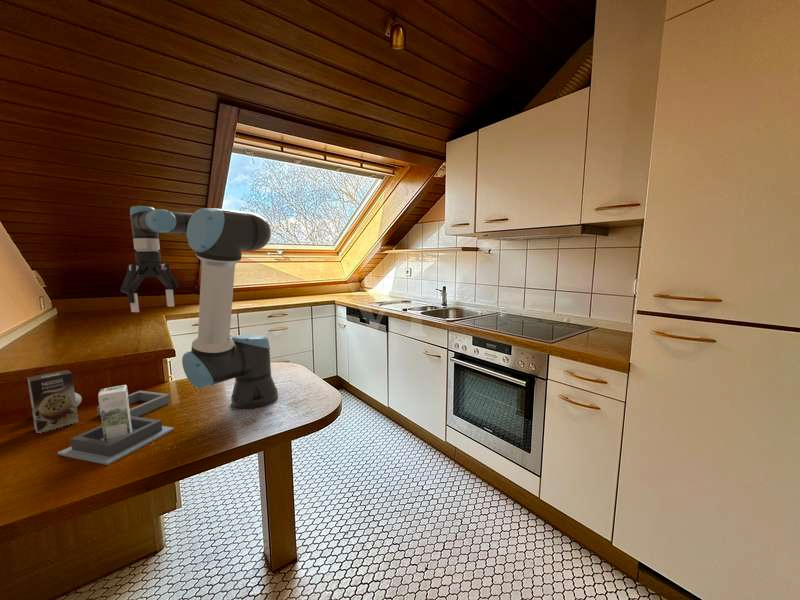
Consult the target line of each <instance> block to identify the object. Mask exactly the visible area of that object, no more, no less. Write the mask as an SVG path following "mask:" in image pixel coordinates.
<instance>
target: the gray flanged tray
mask: <svg viewBox="0 0 800 600" xmlns="http://www.w3.org/2000/svg"><path fill="white" fill-rule="evenodd" d="M130 418H131V425H132V432H131V433H129V434H127V435H124V436H122V437H120V438H118V439H116V440H114V441H112V442H108V441H104V435H103V428H102V424H101V425H99V426H96V427H94V428H92V429H89V430H87V431H85V432H82V433H80V434H78V435H76V436H73V437H71V438H69V439H70V446H69V447H67V448H64V449H62V450H60V451H57V456H62V457H66V458H72V459H77V460H80V461H81V460H82V461H87V462H92V463H96V464H100V465H105V466H106V465H107V466H109V465H110V464H113V463H114V462H116V461H119V460H120V459H123V458H124V457H126V456H127V455H129V454H131V453H133V452H135V451H136V450H139V449H141V448H143V447H144V446H146V445H148V444H150V443H151V442H154V441H155V440H157V439H159V438H161V437H163V436H165V435H167V434H168V433H170V432H172V431H174V430H175V427H172V426H165V425H163V424H162V419H154V418H150V417H149V418H147V417H141V416H139V417H136V416H130Z"/></svg>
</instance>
